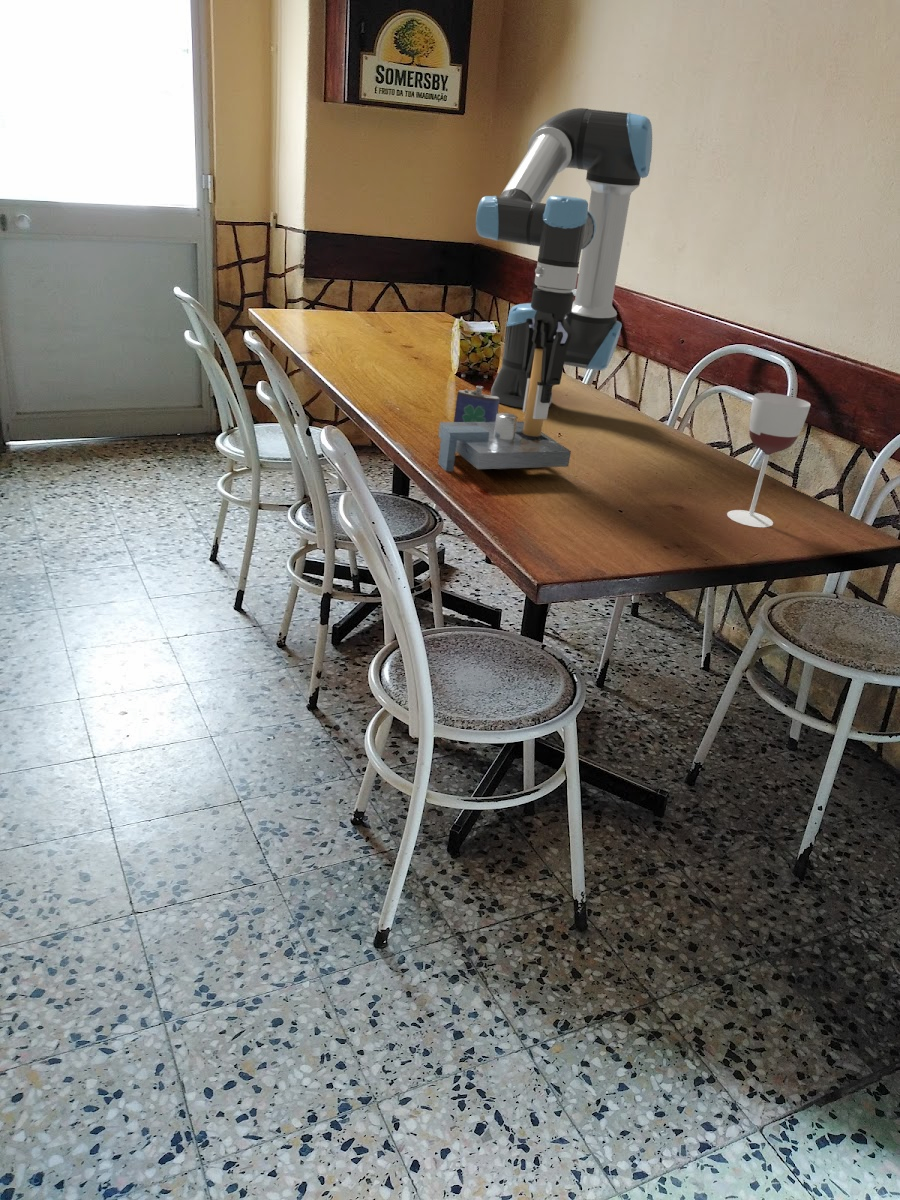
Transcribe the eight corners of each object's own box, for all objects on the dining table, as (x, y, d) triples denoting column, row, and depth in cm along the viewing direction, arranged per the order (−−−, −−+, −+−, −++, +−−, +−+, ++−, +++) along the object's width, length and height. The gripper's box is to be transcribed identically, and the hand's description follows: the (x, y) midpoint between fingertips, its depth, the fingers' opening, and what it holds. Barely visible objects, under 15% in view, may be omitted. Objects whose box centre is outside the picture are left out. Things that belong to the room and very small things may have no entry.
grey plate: (521, 449, 192) (528, 402, 187) (565, 481, 176) (574, 430, 172) (423, 451, 183) (428, 402, 179) (461, 485, 168) (468, 431, 163)
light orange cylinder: (535, 430, 182) (548, 348, 175) (544, 436, 179) (557, 352, 172) (519, 430, 180) (531, 348, 173) (527, 436, 178) (540, 352, 170)
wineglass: (716, 507, 172) (746, 391, 163) (765, 511, 174) (797, 395, 164) (733, 525, 165) (765, 404, 155) (784, 529, 166) (819, 409, 156)
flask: (495, 437, 198) (502, 388, 193) (492, 441, 195) (499, 391, 190) (454, 430, 199) (459, 380, 195) (450, 433, 197) (456, 383, 192)
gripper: (515, 280, 173) (498, 403, 183) (558, 296, 160) (537, 428, 170) (550, 282, 176) (532, 403, 186) (595, 298, 163) (572, 428, 173)
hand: (534, 415), depth 178 cm, fingers closed on light orange cylinder, 4 cm apart
